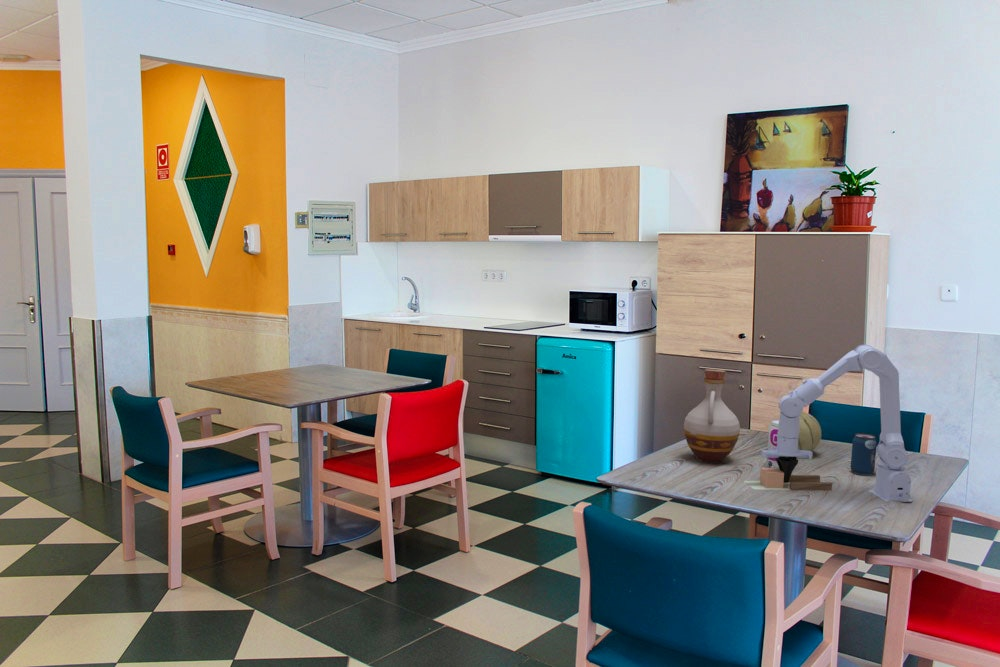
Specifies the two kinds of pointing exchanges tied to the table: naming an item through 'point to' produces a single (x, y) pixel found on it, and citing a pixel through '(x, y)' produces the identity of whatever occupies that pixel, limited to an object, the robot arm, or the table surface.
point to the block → (771, 477)
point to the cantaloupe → (808, 432)
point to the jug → (712, 423)
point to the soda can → (863, 454)
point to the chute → (796, 484)
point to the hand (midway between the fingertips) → (784, 481)
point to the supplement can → (773, 442)
